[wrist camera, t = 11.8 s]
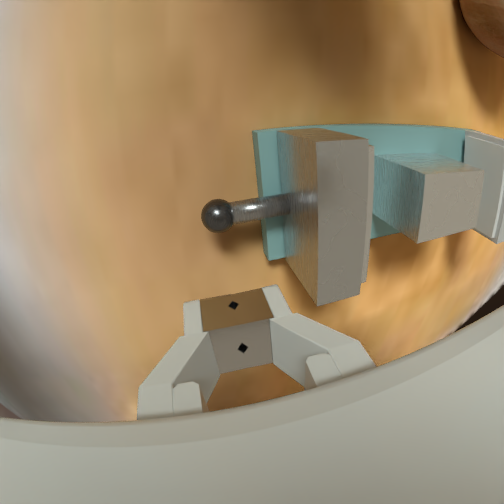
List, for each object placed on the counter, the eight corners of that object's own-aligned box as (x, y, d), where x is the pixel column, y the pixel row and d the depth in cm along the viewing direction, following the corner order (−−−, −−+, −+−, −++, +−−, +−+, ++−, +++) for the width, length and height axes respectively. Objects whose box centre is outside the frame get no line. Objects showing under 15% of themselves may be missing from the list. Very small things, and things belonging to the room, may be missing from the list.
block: (370, 212, 19) (417, 243, 15) (372, 154, 18) (425, 174, 13) (430, 202, 20) (475, 227, 16) (434, 152, 18) (484, 170, 14)
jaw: (211, 274, 18) (224, 328, 14) (188, 142, 15) (193, 157, 10) (328, 249, 20) (368, 291, 15) (327, 127, 16) (379, 138, 12)
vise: (263, 252, 20) (296, 307, 15) (252, 130, 16) (289, 142, 11) (462, 211, 23) (509, 238, 18) (470, 129, 20) (525, 145, 14)
